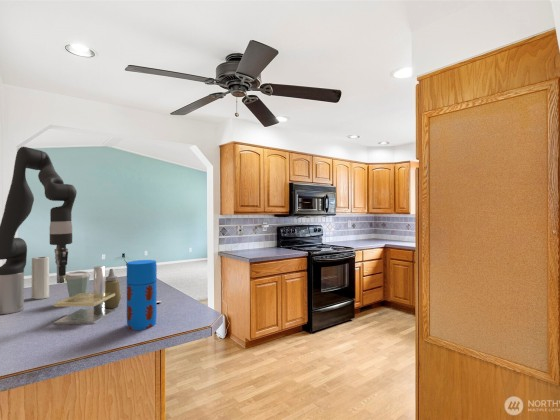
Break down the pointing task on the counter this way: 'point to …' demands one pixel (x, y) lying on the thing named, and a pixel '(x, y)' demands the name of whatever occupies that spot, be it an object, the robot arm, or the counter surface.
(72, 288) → the disposable coffee cup
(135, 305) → the thermos
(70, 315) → the tan and silver stand
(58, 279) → the copper-capped metal rod
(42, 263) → the paper towel roll
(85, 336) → the counter surface
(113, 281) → the squeeze bottle
